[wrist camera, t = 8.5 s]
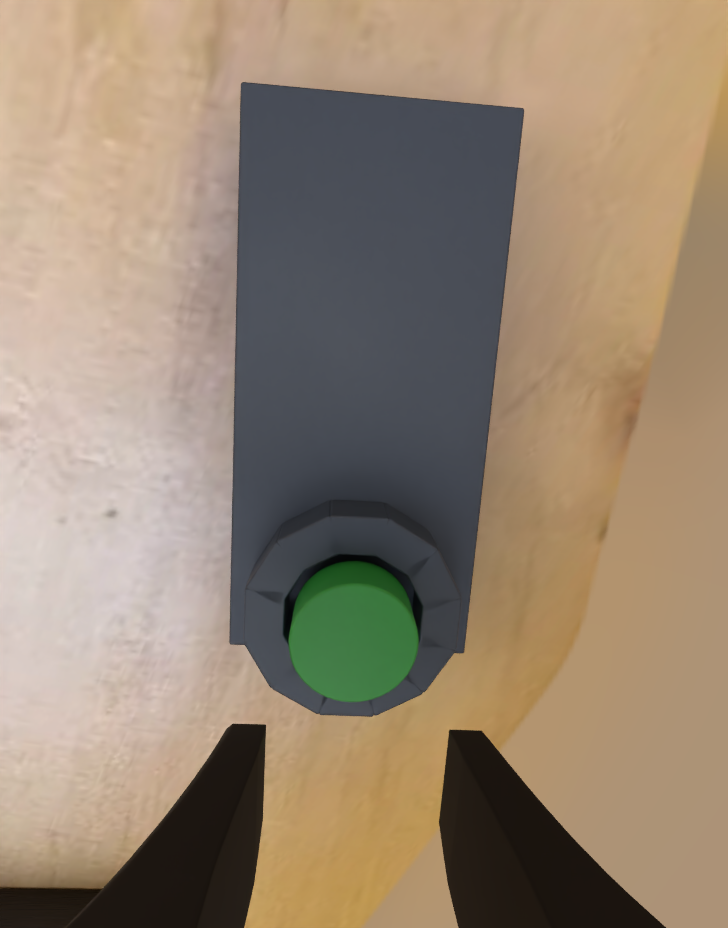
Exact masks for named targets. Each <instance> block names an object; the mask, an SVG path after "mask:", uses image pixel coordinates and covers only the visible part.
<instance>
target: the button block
mask: <svg viewBox="0 0 728 928" xmlns="http://www.w3.org/2000/svg"><path fill="white" fill-rule="evenodd" d="M523 117H524V109H523V108H514V107H503V106H493V105H482V104H471V103H460V102H450V101H439V100H428V99H418V98H407V97H396V96H385V95H375V94H364V93H353V92H343V91H332V90H321V89H310V88H300V87H289V86H278V85H268V84H257V83H246V82H242V83H241V103H240V152H239V200H238V249H237V298H236V347H235V396H234V445H233V494H232V543H231V591H230V640H229V642H230V644H233V645H245V646H246V647H247V649H248V651H249V652H250V654H251V656H252V657H253V659H254V661H255V662H256V664H257V666H258V668H259V669H260V671H261V673H262V674H263V676H264V678H265V679H266V681H267V683H268V684H269V686H270V687H271V688H273V690H275V691H277V692H279V693H281V694H282V695H284V696H286V697H288V698H289V699H291V700H293V701H295V702H297V703H298V704H300V705H302V706H304V707H305V708H307V709H309V710H311V711H313V712H314V713H316V714H320V715H339V716H370V717H372V716H373V715H378V714H380V713H383V712H385V711H387V710H389V709H391V708H393V707H395V706H398V705H400V704H402V703H404V702H406V701H408V700H410V699H413V698H415V697H417V696H419V695H421V694H422V693H423V692H425V691H426V690H427V688H428V687H429V686H430V684H431V683H432V682H433V680H434V679H435V678H436V676H437V675H438V674H439V672H440V671H441V670H442V668H443V667H444V666H445V664H446V663H447V662H448V660H449V659H450V658H451V656H452V655H453V654H454V653H464V648H465V639H466V630H467V621H468V612H469V603H470V594H471V585H472V576H473V567H474V558H475V549H476V540H477V531H478V522H479V513H480V504H481V495H482V486H483V477H484V468H485V459H486V450H487V441H488V432H489V423H490V414H491V405H492V396H493V387H494V378H495V369H496V360H497V351H498V342H499V333H500V324H501V315H502V306H503V297H504V288H505V279H506V270H507V261H508V252H509V243H510V234H511V225H512V216H513V207H514V198H515V189H516V180H517V171H518V162H519V153H520V144H521V135H522V126H523ZM345 561H362V562H367V563H372V564H374V565H377V566H379V567H381V568H383V569H385V570H387V571H388V572H389V573H391V574H392V575H393V576H394V577H395V578H396V579H398V581H399V582H400V583H401V584H402V586H403V587H404V589H405V591H406V593H407V595H408V598H409V601H410V604H411V608H412V612H413V615H414V619H415V622H416V626H417V630H418V637H419V645H418V652H417V656H416V659H415V662H414V664H413V666H412V668H411V670H410V671H409V673H408V675H407V676H406V677H405V678H404V680H403V681H402V682H401V683H400V684H399V685H398V686H397V687H395V688H394V689H393V690H391V691H390V692H388V693H386V694H384V695H383V696H380V697H378V698H375V699H372V700H368V701H362V702H342V701H337V700H333V699H330V698H327V697H325V696H323V695H321V694H319V693H317V692H316V691H314V690H313V689H311V688H310V687H309V686H308V685H307V684H306V683H305V682H304V681H303V680H302V679H301V678H300V676H299V675H298V673H297V672H296V670H295V668H294V666H293V664H292V661H291V658H290V653H289V633H290V627H291V622H292V616H293V611H294V606H295V602H296V599H297V597H298V594H299V592H300V591H301V589H302V587H303V586H304V584H305V583H306V582H307V581H308V580H309V579H310V578H311V577H312V576H313V575H314V574H316V573H317V572H318V571H320V570H322V569H323V568H325V567H327V566H330V565H332V564H335V563H339V562H345Z"/></svg>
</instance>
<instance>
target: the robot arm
mask: <svg viewBox="0 0 728 928" xmlns="http://www.w3.org/2000/svg"><path fill="white" fill-rule="evenodd" d="M265 737H266V725H258V724H232V725H231V726H230V727H228V728H227V729H226V731H225V732H224V734H223V736H222V737H221V739H220V741H219V742H218V744H217V745H216V747H215V749H214V750H213V752H212V753H211V755H210V756H209V758H208V759H207V761H206V762H205V764H204V765H203V766H202V768H201V769H200V771H199V772H198V773H197V775H196V776H195V778H194V779H193V781H192V782H191V783H190V785H189V786H188V787H187V788H186V790H185V791H184V792H183V794H182V795H181V796H180V798H179V799H178V800H177V802H176V803H175V804H174V806H173V807H172V808H171V810H170V811H169V812H168V814H167V815H166V816H165V817H164V819H163V820H162V821H161V822H160V823H159V825H158V826H157V827H156V828H155V829H154V831H153V832H152V833H151V834H150V835H149V837H148V838H147V839H146V840H145V841H144V842H143V844H142V845H141V846H140V847H139V848H138V850H137V851H136V852H135V853H134V854H133V856H132V857H131V858H130V859H129V860H128V861H127V862H126V864H125V865H124V866H123V867H122V868H121V869H120V870H119V871H118V872H117V874H116V875H115V876H114V877H113V878H112V879H111V880H110V881H109V882H108V883H107V884H106V886H105V887H104V888H103V889H102V890H101V891H100V892H99V893H98V894H97V895H96V896H95V897H94V898H93V899H92V900H91V901H90V902H89V903H88V904H87V905H86V906H85V907H84V908H83V909H82V911H81V912H80V913H79V914H78V915H77V916H76V917H75V918H74V919H73V920H72V921H71V922H70V923H69V924H68V925H67V926H65V927H64V928H244V926H245V921H246V917H247V913H248V908H249V904H250V899H251V895H252V890H253V886H254V880H255V873H256V866H257V859H258V851H259V843H260V836H261V828H262V821H263V796H264V766H265ZM439 825H440V832H441V839H442V847H443V854H444V861H445V867H446V874H447V881H448V886H449V890H450V894H451V898H452V903H453V907H454V911H455V915H456V919H457V923H458V927H459V928H666V927H664V926H663V925H662V924H661V923H660V922H659V921H658V920H657V919H656V918H655V917H654V916H652V915H651V914H650V913H649V912H648V911H647V910H646V909H644V907H643V906H641V905H640V904H639V903H638V902H637V901H636V900H635V899H634V898H633V897H631V896H630V895H629V894H628V893H627V892H626V891H625V890H624V889H623V888H622V887H621V886H620V885H619V884H618V883H617V882H615V880H613V879H612V878H611V877H610V876H609V875H608V874H607V873H606V872H605V871H604V870H603V869H602V868H601V867H600V866H599V865H598V864H597V862H596V861H594V859H593V858H592V857H591V856H590V855H589V854H588V853H587V852H586V851H584V849H583V848H582V847H581V846H580V845H579V844H578V843H577V842H576V841H575V840H574V839H573V838H572V837H571V836H570V834H569V833H568V832H567V831H566V830H565V829H564V828H563V827H562V826H561V824H560V823H559V822H558V821H557V820H556V819H555V818H554V817H553V815H552V814H551V813H550V812H549V811H548V810H547V809H546V807H545V806H544V805H543V804H542V803H541V802H540V801H539V800H538V798H537V797H536V796H535V795H534V794H533V792H532V791H531V790H530V789H529V788H528V787H527V785H526V784H525V783H524V782H523V781H522V779H521V778H520V777H519V776H518V775H517V773H516V772H515V771H514V770H513V768H512V767H511V766H510V765H509V764H508V762H507V761H506V760H505V759H504V757H503V756H502V755H501V754H500V752H499V751H498V750H497V749H496V748H495V746H494V745H493V744H492V743H491V741H490V740H489V739H488V738H487V737H486V735H485V734H484V733H483V732H482V731H474V730H449V739H448V748H447V756H446V765H445V774H444V783H443V792H442V801H441V810H440V819H439Z"/></svg>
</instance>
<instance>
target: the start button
mask: <svg viewBox="0 0 728 928" xmlns="http://www.w3.org/2000/svg"><path fill="white" fill-rule="evenodd" d="M418 645H419V637H418V630H417V626H416V622H415V619H414V615H413V612H412V608H411V604H410V601H409V598H408V595H407V593H406V591H405V589H404V587H403V586H402V584H401V583H400V582H399V581H398V579H396V578H395V577H394V576H393V575H392V574H391V573H389V572H388V571H387V570H385V569H383V568H381V567H379V566H377V565H374V564H372V563H367V562H362V561H345V562H339V563H335V564H332V565H330V566H327V567H325V568H323V569H322V570H320V571H318V572H317V573H316V574H314V575H313V576H312V577H311V578H310V579H309V580H308V581H307V582H306V583H305V584H304V586H303V587H302V589H301V591H300V592H299V594H298V597H297V599H296V602H295V606H294V611H293V616H292V622H291V627H290V633H289V653H290V658H291V661H292V664H293V666H294V668H295V670H296V672H297V673H298V675H299V676H300V678H301V679H302V680H303V681H304V682H305V683H306V684H307V685H308V686H309V687H310V688H311V689H313V690H314V691H316V692H317V693H319V694H321V695H323V696H325V697H327V698H330V699H333V700H337V701H342V702H362V701H368V700H372V699H375V698H378V697H380V696H383V695H384V694H386V693H388V692H390V691H391V690H393V689H394V688H395V687H397V686H398V685H399V684H400V683H401V682H402V681H403V680H404V678H405V677H406V676H407V675H408V673H409V671H410V670H411V668H412V666H413V664H414V662H415V659H416V656H417V652H418Z"/></svg>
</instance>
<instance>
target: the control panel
mask: <svg viewBox="0 0 728 928" xmlns="http://www.w3.org/2000/svg"><path fill="white" fill-rule="evenodd" d="M100 891H101V890H61V889H0V928H64V927H65V926H67V925H68V924H69V923H70V922H71V921H72V920H73V919H74V918H75V917H76V916H77V915H78V914H79V913H80V912H81V911H82V909H83V908H84V907H85V906H86V905H87V904H88V903H89V902H90V901H91V900H92V899H93V898H94V897H95V896H96V895H97V894H98V893H99V892H100Z"/></svg>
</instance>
